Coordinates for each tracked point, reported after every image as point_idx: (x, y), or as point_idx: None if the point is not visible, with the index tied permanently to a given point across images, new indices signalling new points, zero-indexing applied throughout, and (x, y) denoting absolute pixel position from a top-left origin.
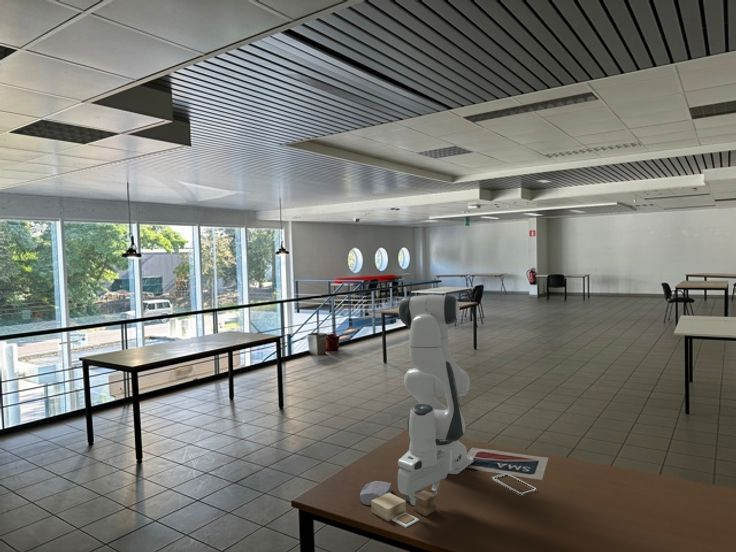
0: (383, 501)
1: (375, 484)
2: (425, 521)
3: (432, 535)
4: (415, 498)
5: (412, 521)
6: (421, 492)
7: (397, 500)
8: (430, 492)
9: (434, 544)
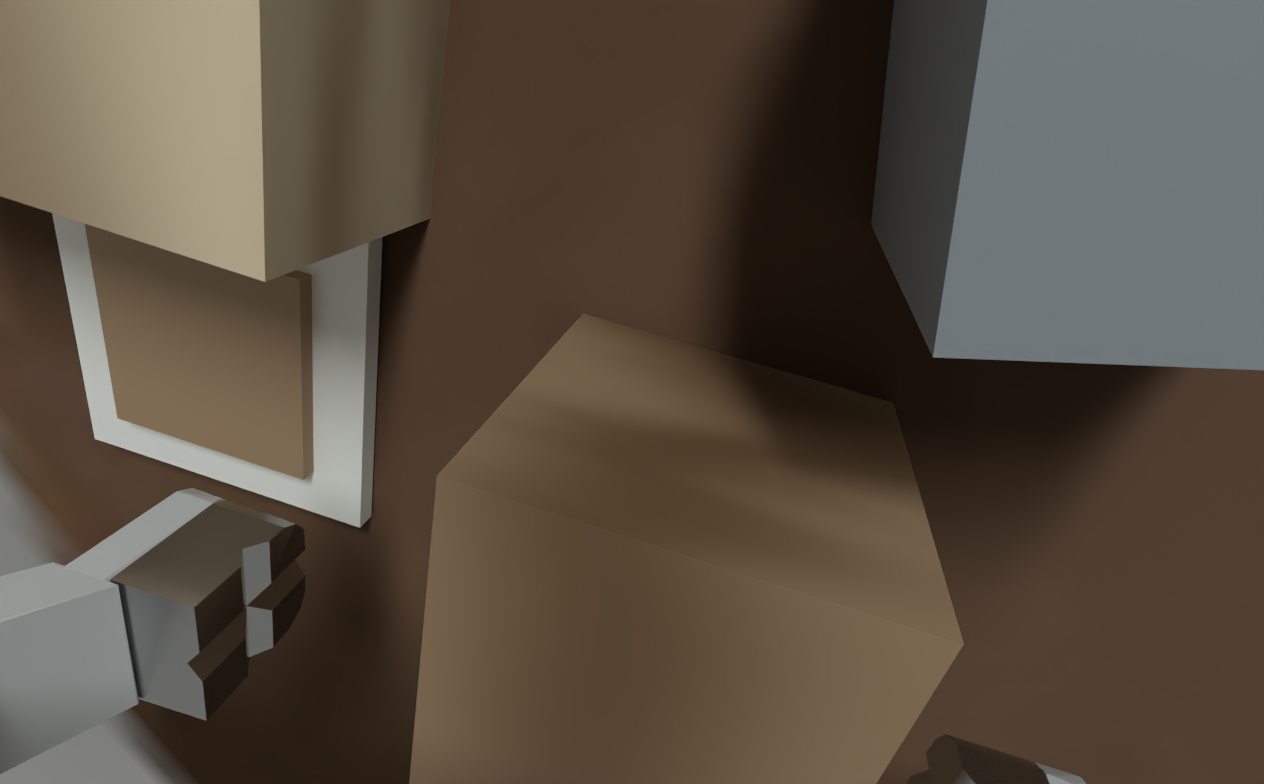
0: None
1: None
2: (413, 591)
3: (247, 722)
4: (171, 680)
5: (247, 468)
6: (757, 615)
7: (96, 25)
8: (963, 777)
9: (159, 762)
